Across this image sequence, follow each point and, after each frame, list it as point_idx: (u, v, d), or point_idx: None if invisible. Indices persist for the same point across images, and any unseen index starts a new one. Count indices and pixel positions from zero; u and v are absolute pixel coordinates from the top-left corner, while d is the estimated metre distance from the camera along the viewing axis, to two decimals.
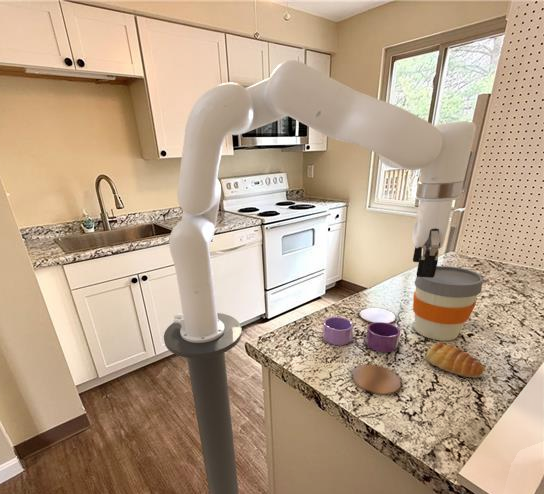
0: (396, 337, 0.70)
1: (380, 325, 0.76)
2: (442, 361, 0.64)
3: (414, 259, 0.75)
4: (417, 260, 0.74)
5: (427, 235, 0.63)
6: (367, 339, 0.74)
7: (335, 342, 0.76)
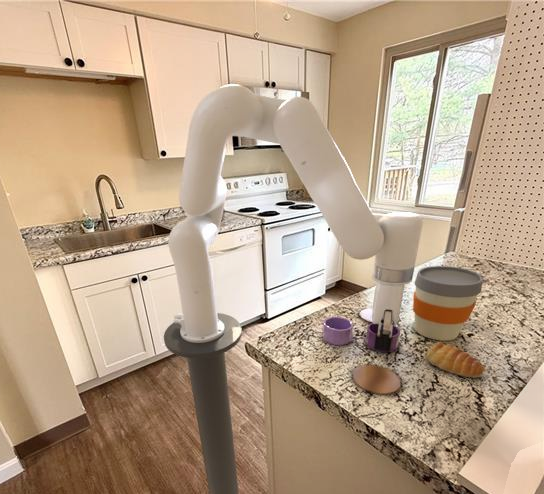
0: (396, 337, 0.70)
1: None
2: (442, 361, 0.64)
3: None
4: None
5: (382, 314, 0.67)
6: (367, 339, 0.74)
7: (335, 342, 0.76)
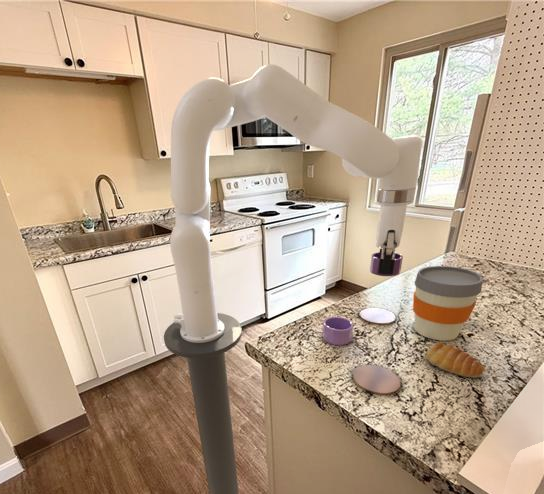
0: (399, 261, 0.75)
1: None
2: (442, 361, 0.64)
3: None
4: None
5: (385, 235, 0.71)
6: (371, 266, 0.79)
7: (335, 342, 0.76)
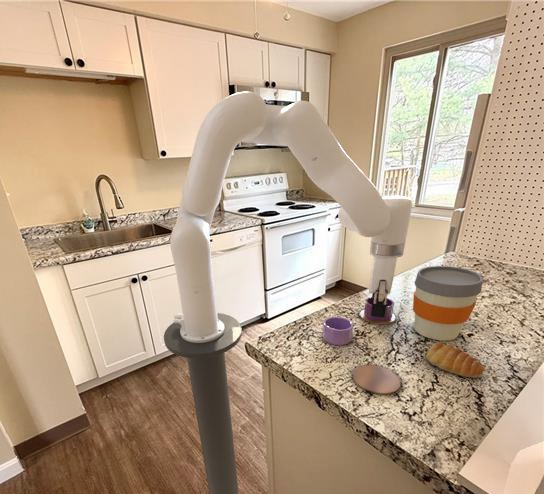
0: (390, 307, 0.82)
1: None
2: (442, 361, 0.64)
3: None
4: None
5: (377, 284, 0.78)
6: (365, 311, 0.86)
7: (335, 342, 0.76)
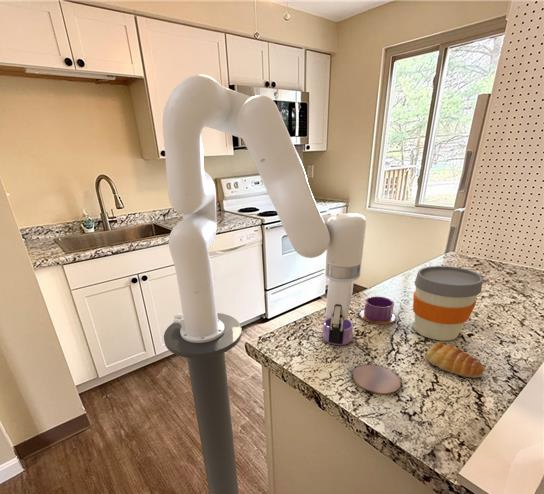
0: (390, 307, 0.82)
1: (377, 299, 0.87)
2: (442, 361, 0.64)
3: None
4: None
5: (332, 309, 0.71)
6: (365, 311, 0.86)
7: None
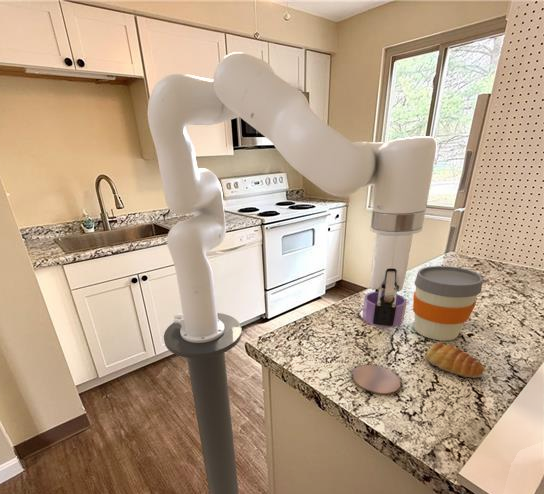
0: None
1: None
2: (442, 361, 0.64)
3: None
4: None
5: (383, 276, 0.51)
6: None
7: None
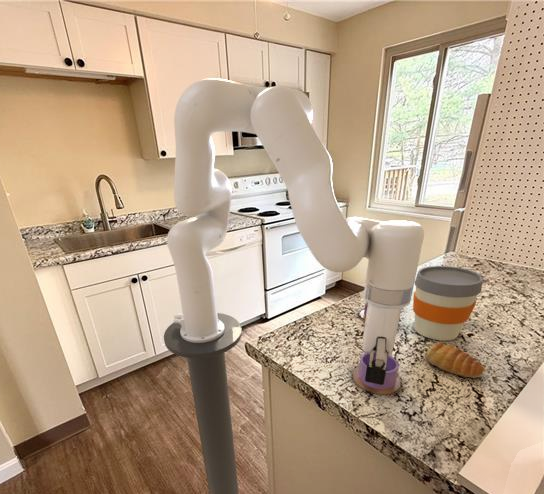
0: None
1: None
2: (442, 361, 0.64)
3: None
4: None
5: (374, 342, 0.56)
6: (365, 311, 0.86)
7: (376, 386, 0.61)
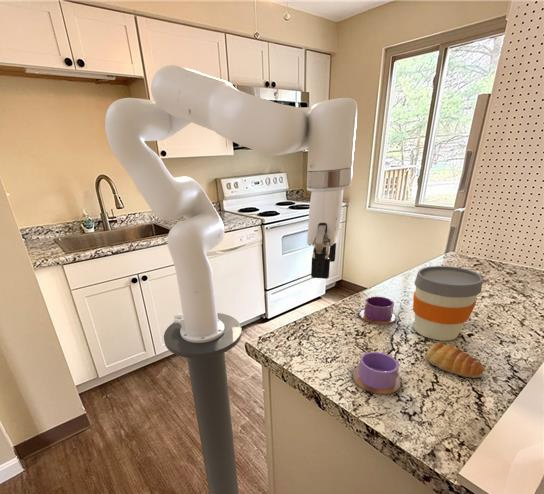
0: (390, 307, 0.82)
1: (377, 299, 0.87)
2: (442, 361, 0.64)
3: None
4: None
5: (316, 230, 0.56)
6: (365, 311, 0.86)
7: (376, 386, 0.61)
